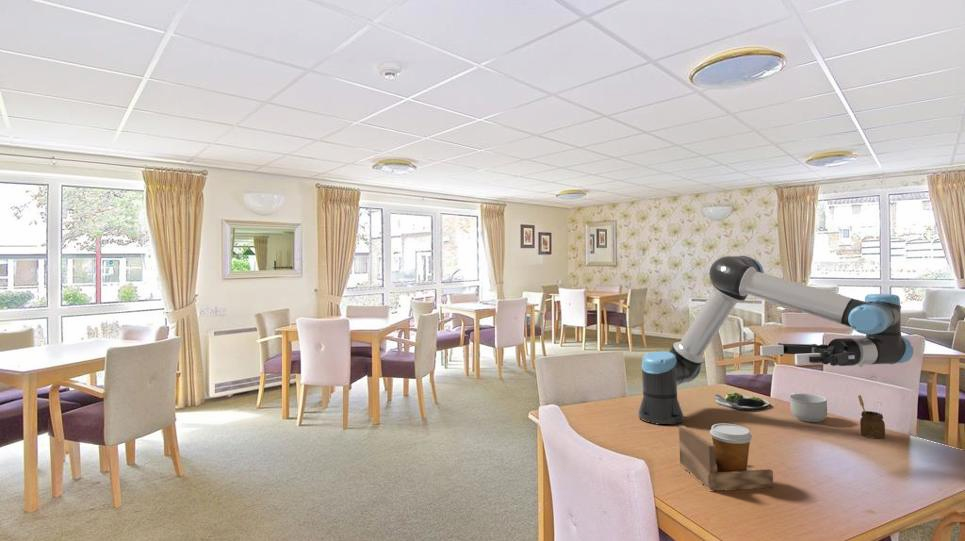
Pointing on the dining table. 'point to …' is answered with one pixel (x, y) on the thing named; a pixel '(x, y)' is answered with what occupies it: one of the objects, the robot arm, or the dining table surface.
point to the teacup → (808, 407)
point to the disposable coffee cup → (731, 447)
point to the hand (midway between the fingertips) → (777, 354)
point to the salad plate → (742, 402)
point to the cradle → (703, 466)
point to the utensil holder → (871, 422)
